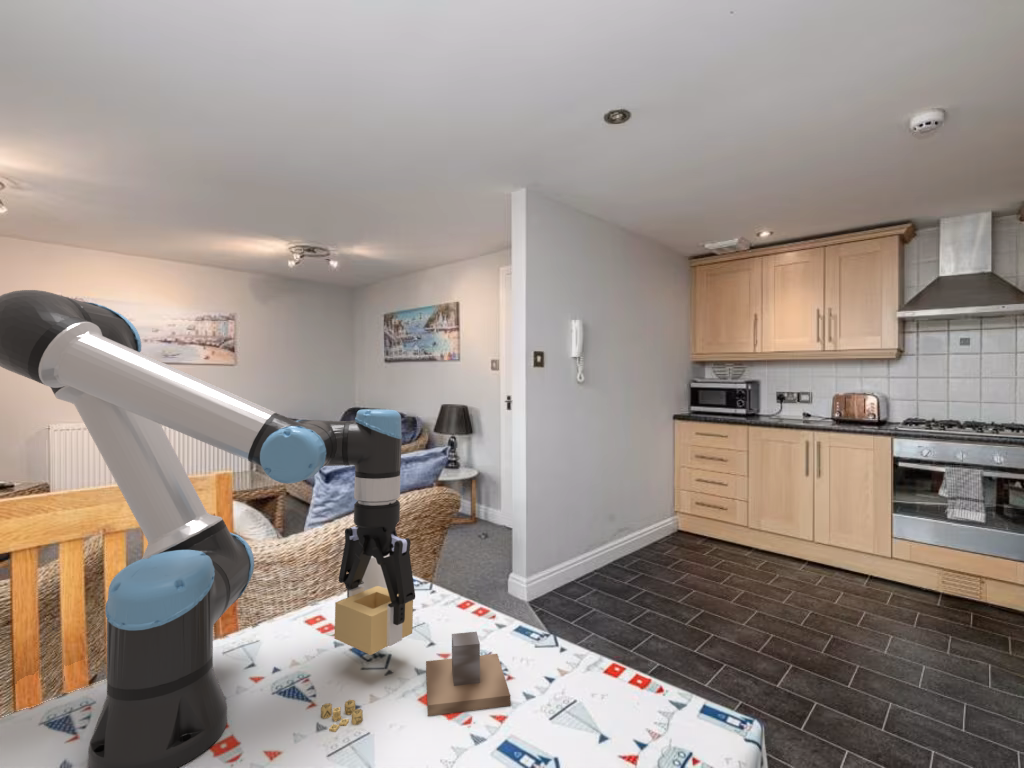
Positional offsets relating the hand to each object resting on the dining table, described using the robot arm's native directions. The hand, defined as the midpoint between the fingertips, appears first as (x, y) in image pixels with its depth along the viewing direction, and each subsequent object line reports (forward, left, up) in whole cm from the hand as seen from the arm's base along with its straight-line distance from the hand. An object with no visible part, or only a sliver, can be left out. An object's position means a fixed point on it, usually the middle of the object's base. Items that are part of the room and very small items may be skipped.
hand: (374, 633), depth 85 cm
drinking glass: (-1, +14, -6) cm, 15 cm away
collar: (0, 0, 0) cm, 0 cm away
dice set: (-3, -13, -6) cm, 15 cm away
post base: (+15, -9, -5) cm, 18 cm away
